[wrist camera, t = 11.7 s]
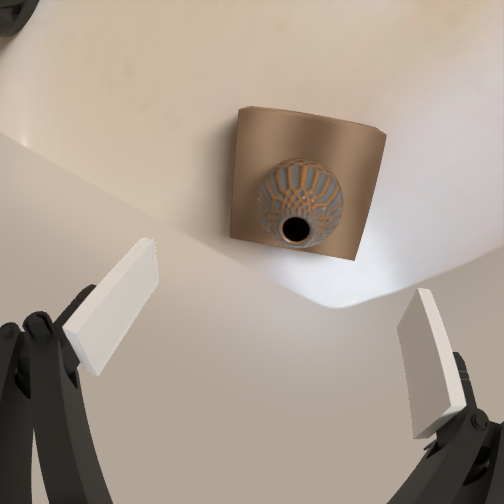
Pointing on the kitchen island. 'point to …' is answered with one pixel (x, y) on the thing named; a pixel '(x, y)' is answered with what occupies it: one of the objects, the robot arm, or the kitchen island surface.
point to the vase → (300, 202)
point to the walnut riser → (314, 147)
